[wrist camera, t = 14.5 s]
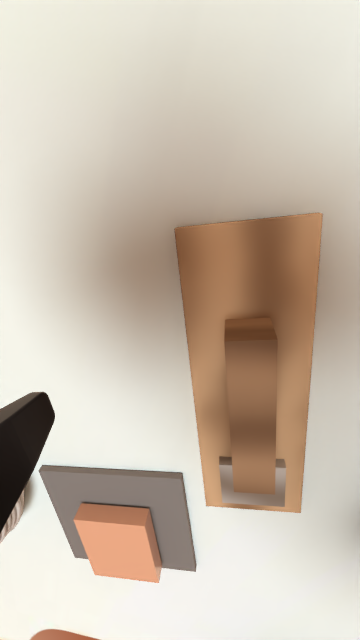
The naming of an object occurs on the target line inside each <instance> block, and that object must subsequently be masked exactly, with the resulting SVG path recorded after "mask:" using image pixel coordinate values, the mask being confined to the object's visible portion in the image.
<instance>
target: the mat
mask: <svg viewBox="0 0 360 640" xmlns="http://www.w3.org/2000/svg"><path fill="white" fill-rule="evenodd" d="M39 473H40V475H41V477H42V480H43V482H44V485H45V487H46V489H47V492H48V494H49V497H50V499H51V501H52V504H53V506H54V508H55V511H56V513H57V516H58V518H59V520H60V523H61V525H62V527H63V530H64V532H65V535H66V537H67V539H68V542H69V544H70V547H71V549H72V551H73V554H74V556H75V558H83V559H88V556H87V553H86V551H85V548H84V546H83V543H82V541H81V538H80V536H79V533H78V530H77V528H76V525H75V523H74V520H73V519H74V517H75V515H76V513H77V511H78V509H79V507H80V505H81V503H84V504H98V505H110V506H123V507H135V508H147V509H149V510H150V515H151V519H152V523H153V528H154V532H155V536H156V541H157V545H158V549H159V554H160V558H161V562H162V568H169V569H177V570H186V571H194V572H196V561H195V554H194V548H193V541H192V535H191V528H190V522H189V515H188V508H187V502H186V495H185V489H184V482H183V476H182V473H171V472H153V471H135V470H117V469H99V468H80V467H62V466H44V465H42V467H41V468H40V469H39Z"/></svg>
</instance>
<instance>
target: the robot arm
mask: <svg viewBox="0 0 360 640" xmlns="http://www.w3.org/2000/svg"><path fill="white" fill-rule="evenodd" d="M54 419H55V413H54V410H53V407H52V405H51V402H50V399H49V397H48V395H47V394H46V393H45V392H32V393H29V394H27V395H26V396H24V397H22V398H20V399H18V400H16V401H14V402H13V403H11V404H9V405H7V406H5V407H3V408H1V409H0V534H1V532H2V530H3V528H4V526H5V524H6V522H7V520H8V518H9V517H10V515H11V513H12V511H13V509H14V507H15V505H16V503H17V501H18V499H19V498H20V496H21V494H22V492H23V490H24V488H25V486H26V484H27V482H28V480H29V478H30V476H31V474H32V472H33V470H34V468H35V466H36V464H37V461H38V459H39V457H40V454H41V452H42V449H43V447H44V445H45V442H46V440H47V437H48V435H49V432H50V430H51V428H52V425H53V423H54Z"/></svg>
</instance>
